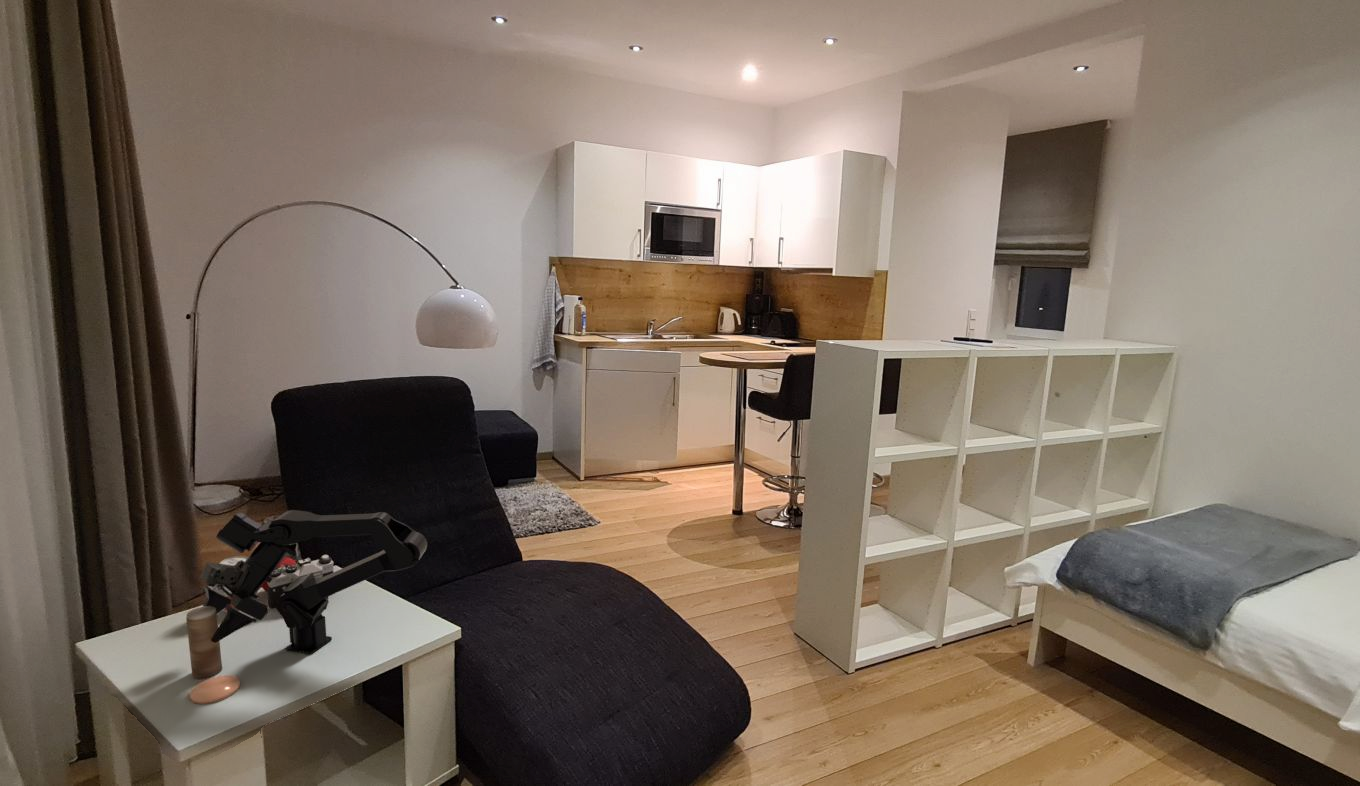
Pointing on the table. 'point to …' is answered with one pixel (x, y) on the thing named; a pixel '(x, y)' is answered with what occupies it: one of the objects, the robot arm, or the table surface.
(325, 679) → the table surface
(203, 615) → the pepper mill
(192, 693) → the coaster
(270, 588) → the camera
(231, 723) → the table surface
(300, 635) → the robot arm
